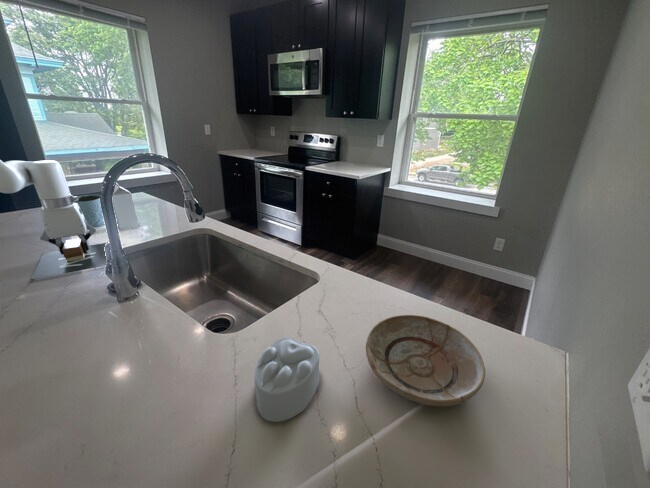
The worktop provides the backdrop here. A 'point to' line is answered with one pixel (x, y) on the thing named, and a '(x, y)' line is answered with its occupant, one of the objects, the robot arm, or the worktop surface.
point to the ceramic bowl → (425, 360)
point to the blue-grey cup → (91, 209)
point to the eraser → (73, 250)
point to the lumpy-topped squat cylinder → (286, 379)
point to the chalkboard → (69, 262)
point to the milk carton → (124, 208)
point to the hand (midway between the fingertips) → (76, 253)
